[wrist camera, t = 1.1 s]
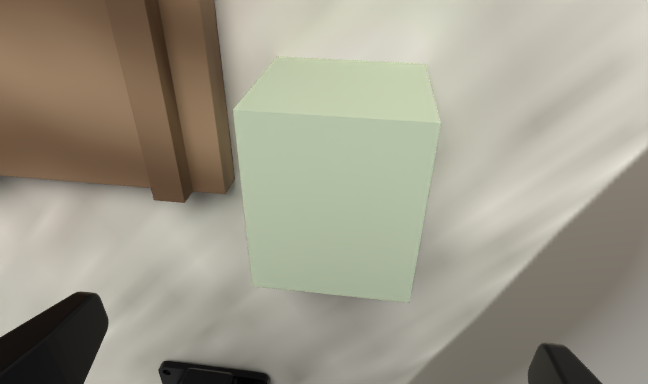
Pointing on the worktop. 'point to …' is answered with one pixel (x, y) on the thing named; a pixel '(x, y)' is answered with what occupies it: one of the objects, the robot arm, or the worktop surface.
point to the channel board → (114, 94)
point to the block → (337, 174)
